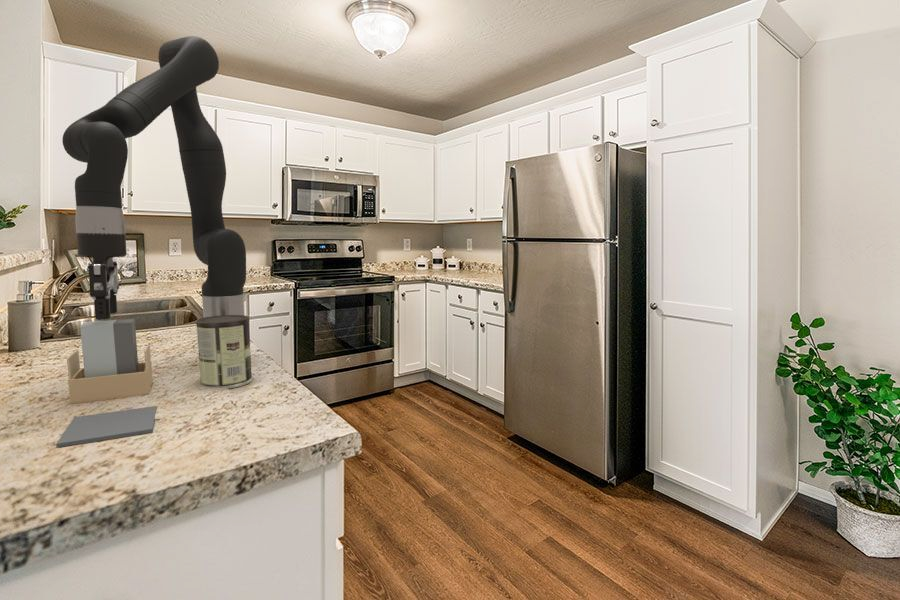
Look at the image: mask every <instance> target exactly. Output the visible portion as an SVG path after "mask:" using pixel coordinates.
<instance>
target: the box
mask: <svg viewBox="0 0 900 600" xmlns="http://www.w3.org/2000/svg"><path fill="white" fill-rule="evenodd" d="M79 328H80V338H81V341H80V342H81V350H82V361H83V362H82V363H83V368H84V373H85V378H90V377H99V376H109V375H118V374H128V373H137V372H139V367H138V363H139V356H138V345H137V344H138V343H137V333H136V332H137V331H136V319H135V318H128V319H113V320H112V319H107V320H95V321H85V322H83V323H82V324H81V325H80V326H79Z"/></svg>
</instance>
